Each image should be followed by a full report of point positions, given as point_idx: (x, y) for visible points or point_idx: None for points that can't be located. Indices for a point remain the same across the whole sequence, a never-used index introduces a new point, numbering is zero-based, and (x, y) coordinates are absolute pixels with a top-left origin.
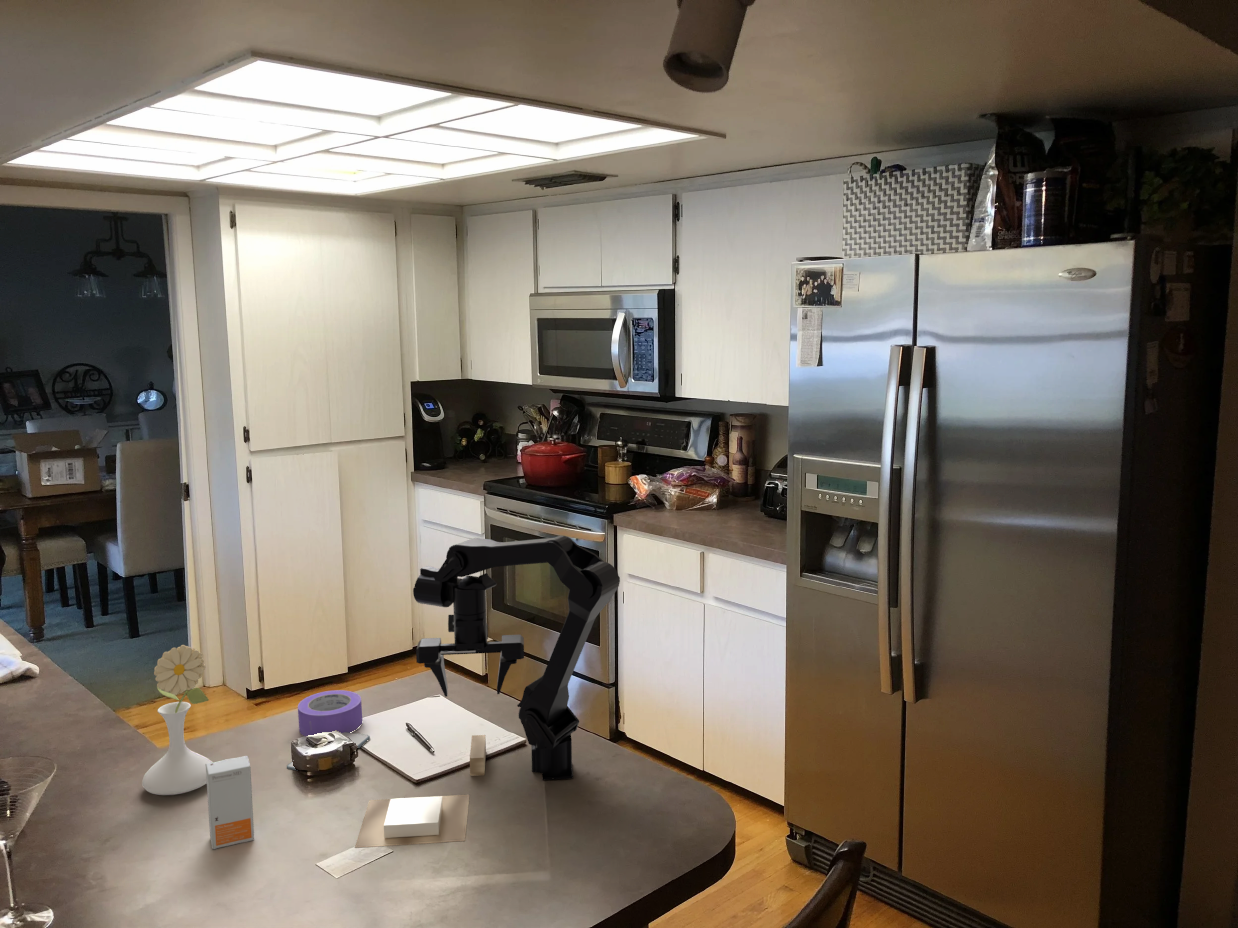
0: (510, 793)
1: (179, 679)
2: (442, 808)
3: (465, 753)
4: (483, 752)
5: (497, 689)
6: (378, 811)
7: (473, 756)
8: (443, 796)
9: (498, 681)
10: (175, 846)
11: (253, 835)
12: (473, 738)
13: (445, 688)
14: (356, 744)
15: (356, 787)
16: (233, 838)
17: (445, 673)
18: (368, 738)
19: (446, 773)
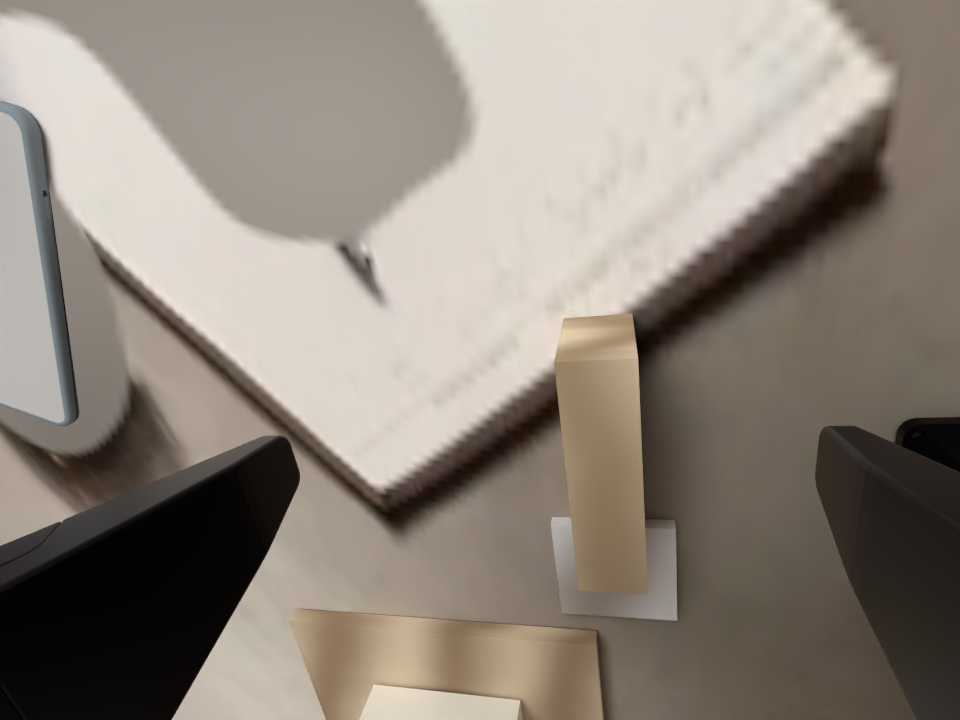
0: (751, 622)
1: None
2: (520, 706)
3: (524, 288)
4: (641, 549)
5: (845, 556)
6: (340, 672)
7: (594, 578)
8: (507, 639)
9: (923, 709)
10: None
11: None
12: (569, 398)
13: (248, 576)
14: (27, 217)
15: None
16: None
17: (91, 555)
18: (34, 141)
19: (477, 460)
